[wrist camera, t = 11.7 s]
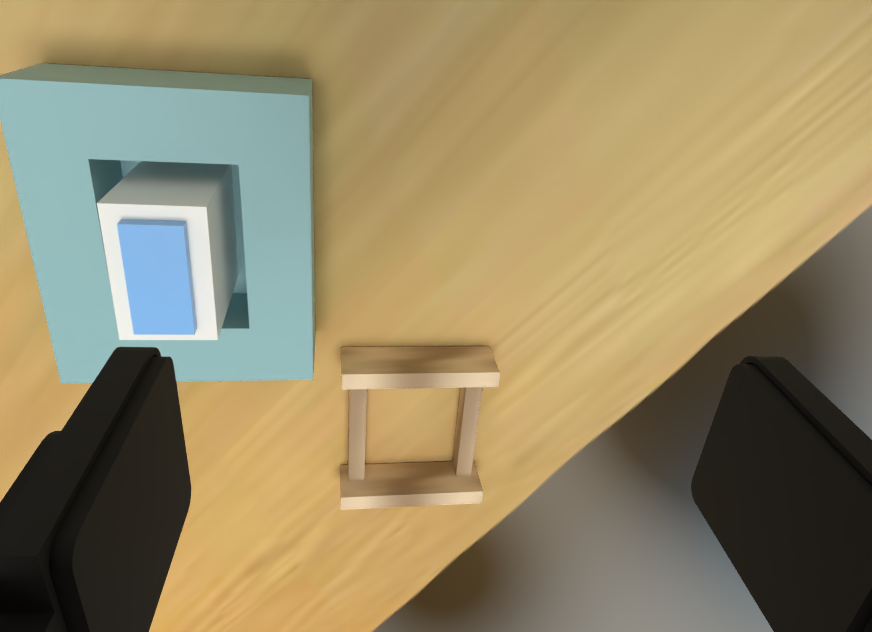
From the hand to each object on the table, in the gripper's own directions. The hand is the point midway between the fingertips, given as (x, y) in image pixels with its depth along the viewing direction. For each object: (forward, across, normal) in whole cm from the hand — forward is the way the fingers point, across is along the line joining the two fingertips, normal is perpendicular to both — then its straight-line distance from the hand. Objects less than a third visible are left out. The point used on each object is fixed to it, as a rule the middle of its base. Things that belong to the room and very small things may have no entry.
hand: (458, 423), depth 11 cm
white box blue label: (+23, +10, +5) cm, 26 cm away
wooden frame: (+24, -2, +18) cm, 31 cm away
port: (+24, +10, +5) cm, 27 cm away
